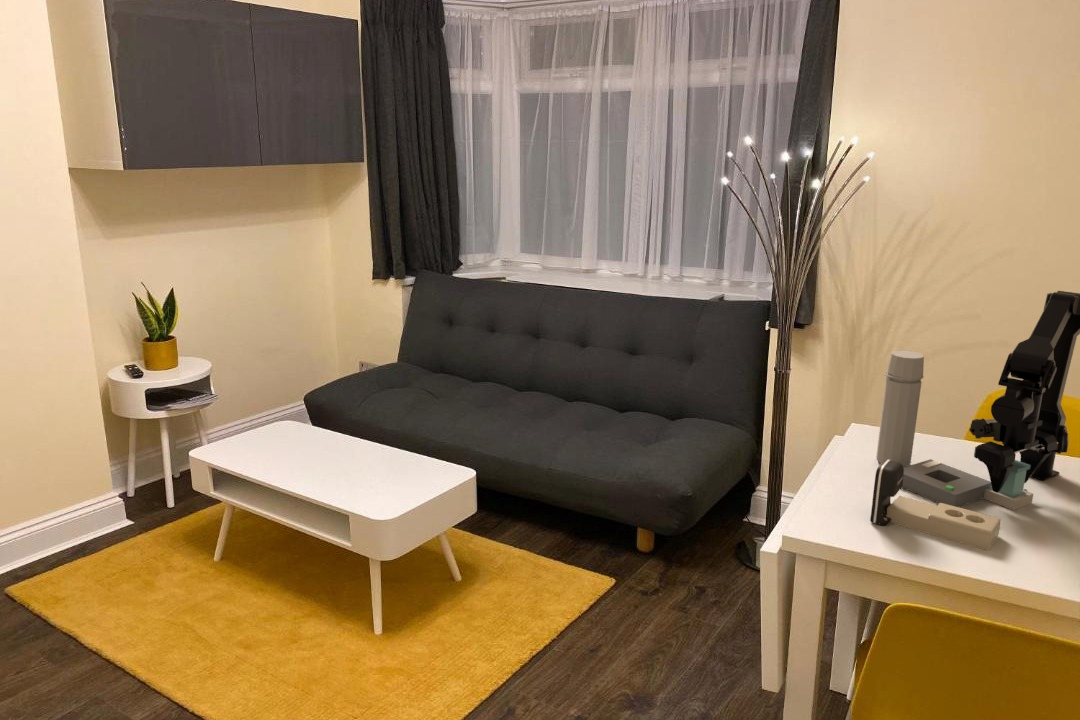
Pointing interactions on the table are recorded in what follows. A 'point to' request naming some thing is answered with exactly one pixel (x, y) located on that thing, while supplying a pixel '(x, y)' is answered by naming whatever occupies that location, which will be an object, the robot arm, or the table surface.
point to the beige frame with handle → (1009, 499)
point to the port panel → (944, 483)
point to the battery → (885, 489)
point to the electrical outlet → (946, 521)
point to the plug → (1015, 480)
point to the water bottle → (900, 406)
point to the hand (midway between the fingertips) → (1009, 487)
